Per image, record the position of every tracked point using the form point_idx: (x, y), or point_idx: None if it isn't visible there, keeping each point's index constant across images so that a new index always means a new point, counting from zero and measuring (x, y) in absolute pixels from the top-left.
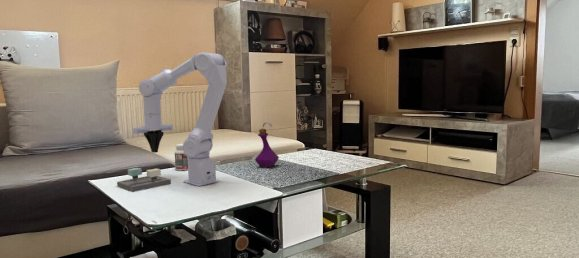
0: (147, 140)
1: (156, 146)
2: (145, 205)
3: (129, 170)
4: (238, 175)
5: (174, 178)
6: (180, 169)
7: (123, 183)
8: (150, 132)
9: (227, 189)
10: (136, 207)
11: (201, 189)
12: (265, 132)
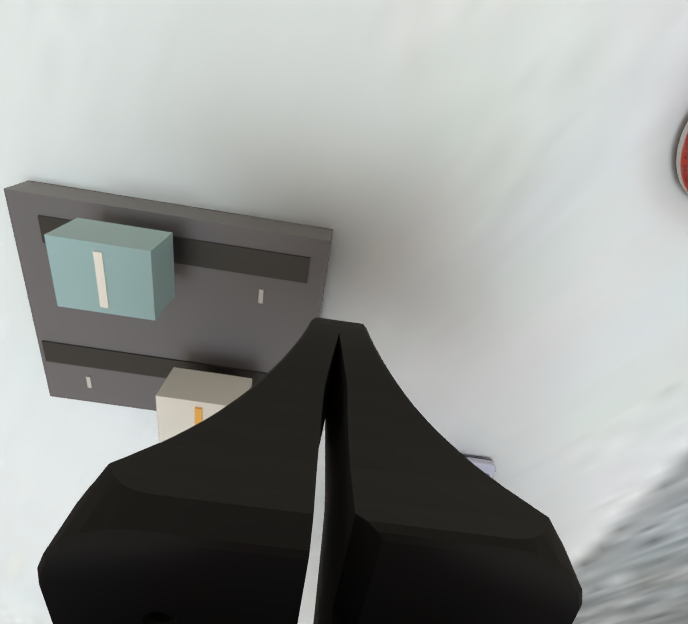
0: (228, 407)
1: (325, 452)
2: (39, 549)
3: (53, 267)
4: (622, 545)
5: (419, 334)
6: (681, 176)
7: (31, 277)
8: None
9: None
10: (3, 543)
11: (315, 562)
12: None
